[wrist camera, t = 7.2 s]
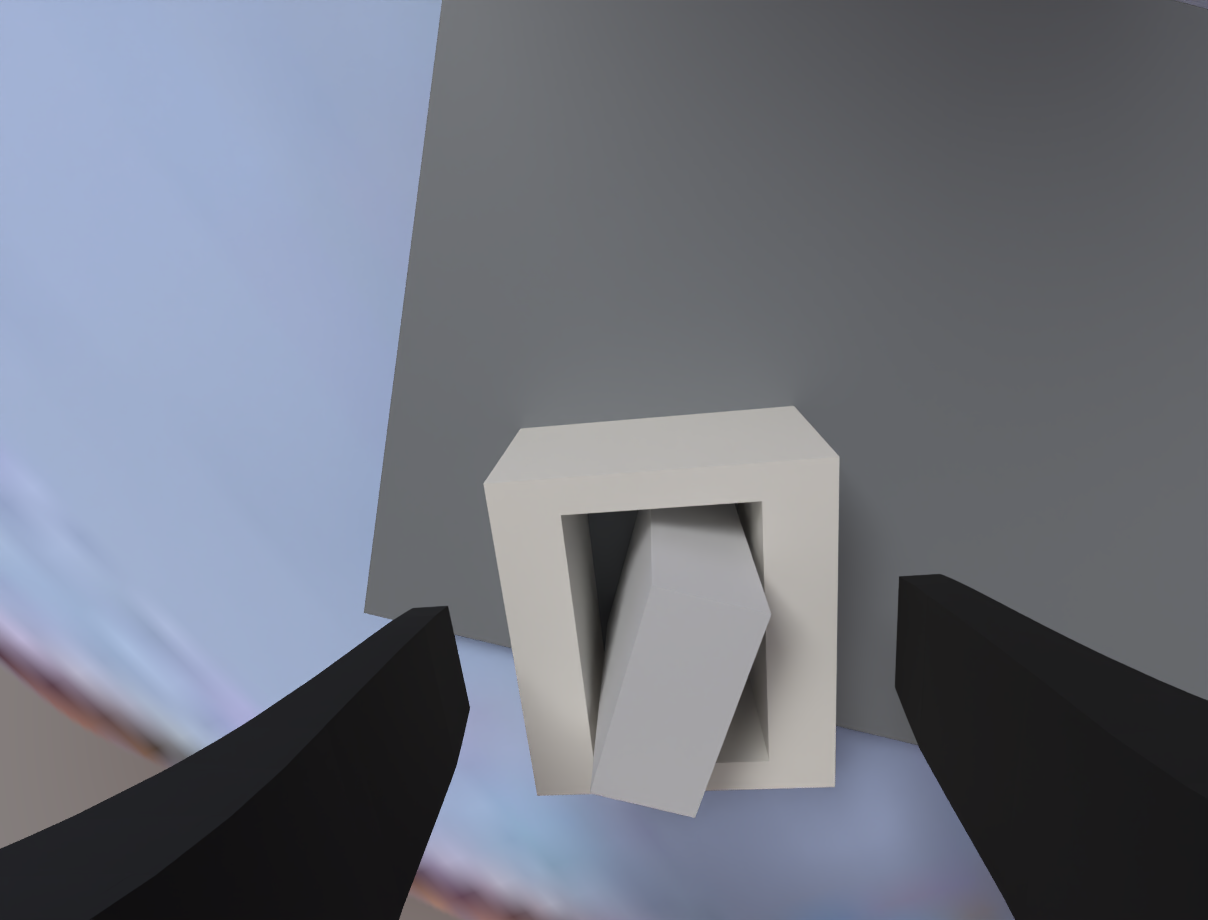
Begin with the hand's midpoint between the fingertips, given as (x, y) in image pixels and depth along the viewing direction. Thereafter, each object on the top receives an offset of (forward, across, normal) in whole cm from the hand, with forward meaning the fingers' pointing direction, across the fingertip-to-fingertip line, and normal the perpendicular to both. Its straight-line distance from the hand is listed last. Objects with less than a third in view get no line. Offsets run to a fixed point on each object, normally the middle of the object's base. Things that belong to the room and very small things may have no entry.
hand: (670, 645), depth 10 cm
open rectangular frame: (+3, 0, 0) cm, 3 cm away
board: (+4, -5, -2) cm, 7 cm away
